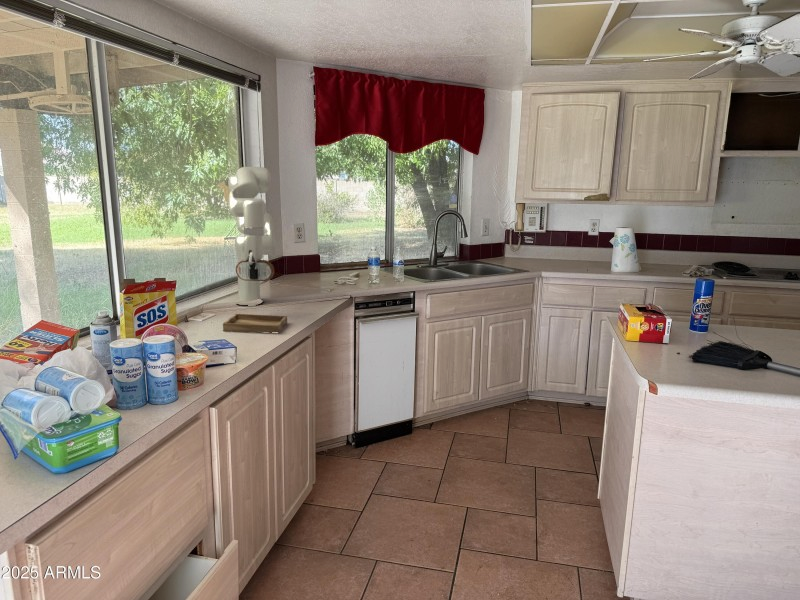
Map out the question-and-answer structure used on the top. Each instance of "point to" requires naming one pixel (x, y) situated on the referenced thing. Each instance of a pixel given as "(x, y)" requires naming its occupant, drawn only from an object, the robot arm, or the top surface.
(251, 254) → the robot arm
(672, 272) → the top surface
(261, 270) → the tin
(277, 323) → the walnut tray
